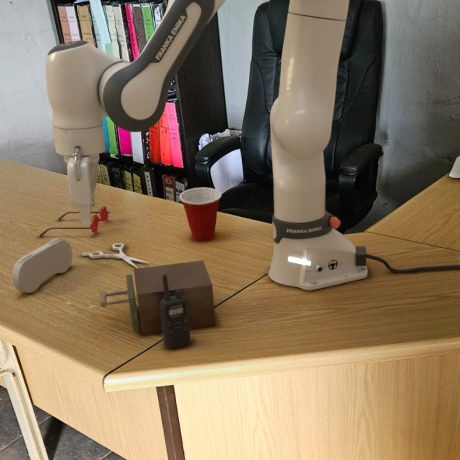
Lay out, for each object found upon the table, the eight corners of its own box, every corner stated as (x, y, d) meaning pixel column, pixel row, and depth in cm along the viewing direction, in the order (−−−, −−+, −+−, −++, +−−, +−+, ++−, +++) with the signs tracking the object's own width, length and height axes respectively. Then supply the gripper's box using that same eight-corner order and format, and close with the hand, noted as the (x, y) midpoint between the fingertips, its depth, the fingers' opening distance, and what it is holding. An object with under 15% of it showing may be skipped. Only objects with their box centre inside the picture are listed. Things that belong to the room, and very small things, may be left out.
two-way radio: (166, 351, 120) (157, 279, 112) (159, 341, 124) (150, 270, 116) (194, 345, 122) (187, 272, 114) (186, 334, 125) (179, 264, 118)
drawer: (104, 335, 125) (98, 302, 121) (104, 309, 135) (98, 278, 131) (201, 322, 127) (198, 289, 124) (193, 298, 137) (190, 266, 133)
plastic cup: (188, 248, 165) (184, 202, 158) (179, 234, 174) (175, 190, 167) (228, 241, 167) (226, 196, 161) (218, 228, 176) (215, 185, 170)
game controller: (67, 264, 160) (61, 232, 155) (75, 265, 159) (69, 233, 154) (15, 297, 145) (6, 263, 140) (23, 299, 144) (15, 264, 140)
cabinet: (142, 336, 126) (136, 294, 121) (139, 307, 137) (133, 268, 132) (215, 326, 128) (212, 284, 123) (206, 299, 138) (203, 260, 134)
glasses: (96, 237, 175) (93, 220, 172) (39, 237, 178) (35, 220, 175) (112, 220, 187) (109, 203, 184) (58, 220, 189) (55, 203, 187)
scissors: (115, 240, 170) (163, 258, 157) (115, 243, 170) (163, 261, 157) (81, 253, 163) (128, 272, 151) (82, 255, 164) (128, 275, 151)
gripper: (94, 154, 106) (102, 233, 113) (100, 129, 124) (107, 199, 131) (55, 155, 106) (66, 235, 112) (67, 130, 123) (76, 201, 130)
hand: (88, 216), depth 122 cm, fingers open, 8 cm apart
